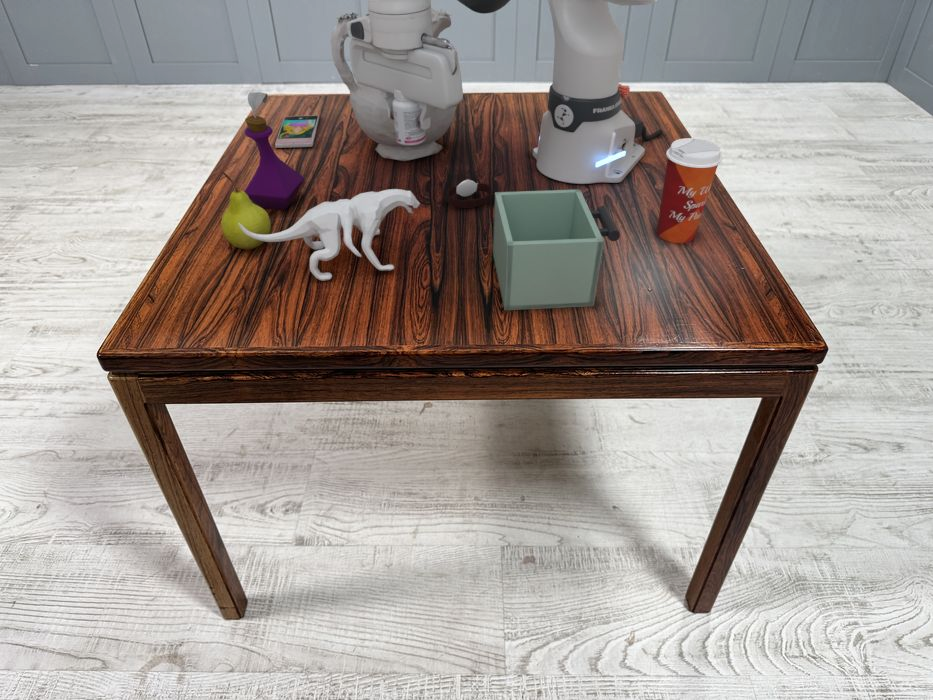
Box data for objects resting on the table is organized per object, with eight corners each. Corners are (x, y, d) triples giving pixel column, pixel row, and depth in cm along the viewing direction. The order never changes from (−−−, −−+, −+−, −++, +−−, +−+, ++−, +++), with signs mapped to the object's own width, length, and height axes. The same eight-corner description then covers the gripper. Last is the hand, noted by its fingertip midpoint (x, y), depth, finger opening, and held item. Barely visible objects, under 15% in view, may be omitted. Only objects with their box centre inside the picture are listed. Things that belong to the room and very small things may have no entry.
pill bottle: (430, 136, 105) (427, 83, 100) (417, 148, 102) (412, 94, 97) (404, 132, 107) (400, 79, 101) (390, 143, 104) (384, 89, 98)
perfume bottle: (290, 216, 105) (268, 104, 94) (247, 211, 107) (220, 100, 95) (308, 195, 111) (289, 87, 99) (267, 191, 112) (243, 83, 101)
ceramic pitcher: (379, 187, 116) (373, 39, 99) (323, 144, 126) (309, 4, 109) (473, 156, 126) (483, 17, 109) (415, 118, 137) (415, -13, 120)
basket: (492, 254, 97) (593, 249, 98) (504, 310, 86) (617, 305, 87) (494, 192, 90) (602, 188, 91) (507, 244, 80) (629, 240, 81)
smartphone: (319, 115, 137) (312, 143, 125) (319, 118, 137) (313, 147, 126) (284, 116, 136) (274, 144, 125) (285, 119, 137) (275, 148, 125)
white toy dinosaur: (432, 268, 94) (429, 205, 87) (253, 297, 88) (236, 233, 82) (412, 227, 103) (409, 168, 96) (249, 252, 97) (233, 190, 91)
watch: (486, 193, 112) (487, 173, 109) (495, 205, 108) (496, 185, 106) (443, 199, 110) (443, 179, 108) (451, 212, 107) (450, 191, 104)
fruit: (282, 237, 100) (267, 163, 93) (261, 261, 95) (243, 185, 88) (242, 232, 102) (223, 158, 94) (219, 254, 97) (197, 179, 89)
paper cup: (672, 251, 97) (694, 162, 88) (639, 228, 103) (656, 142, 94) (712, 239, 100) (736, 151, 91) (678, 217, 105) (698, 132, 96)
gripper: (471, 35, 90) (472, 133, 99) (369, 13, 100) (379, 103, 110) (440, 47, 87) (445, 147, 96) (338, 22, 97) (351, 114, 106)
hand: (409, 123), depth 103 cm, fingers closed on pill bottle, 5 cm apart
